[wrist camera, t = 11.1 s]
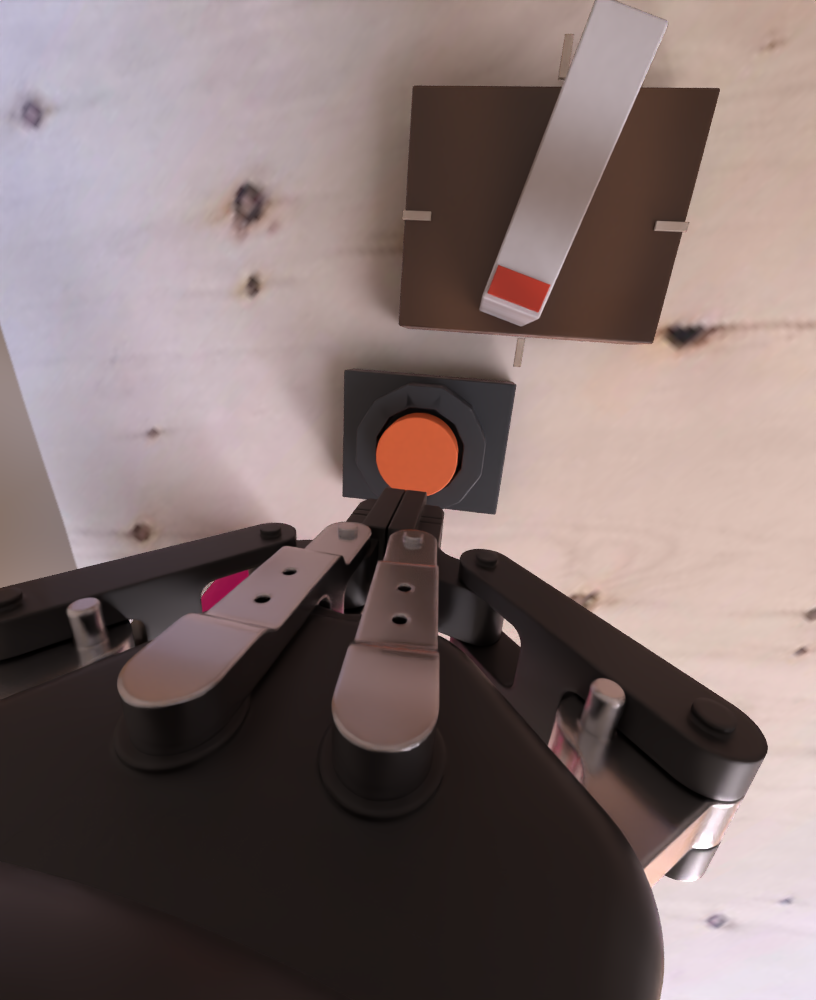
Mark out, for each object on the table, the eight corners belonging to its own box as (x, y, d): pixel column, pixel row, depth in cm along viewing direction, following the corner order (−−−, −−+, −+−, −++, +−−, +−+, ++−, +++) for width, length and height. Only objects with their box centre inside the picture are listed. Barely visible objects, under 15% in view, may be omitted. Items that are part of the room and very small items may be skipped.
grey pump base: (513, 381, 25) (520, 387, 21) (493, 503, 28) (497, 527, 24) (353, 368, 26) (333, 371, 22) (350, 487, 29) (332, 507, 25)
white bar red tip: (561, 95, 18) (600, -15, 12) (612, 114, 18) (674, 13, 12) (478, 310, 21) (481, 296, 16) (522, 327, 21) (539, 319, 16)
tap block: (698, 81, 19) (740, 32, 16) (625, 373, 24) (647, 377, 21) (420, 79, 21) (412, 34, 18) (403, 356, 25) (394, 356, 22)
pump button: (462, 416, 22) (462, 421, 21) (453, 491, 24) (452, 501, 22) (383, 408, 23) (377, 413, 21) (380, 483, 24) (374, 492, 23)
